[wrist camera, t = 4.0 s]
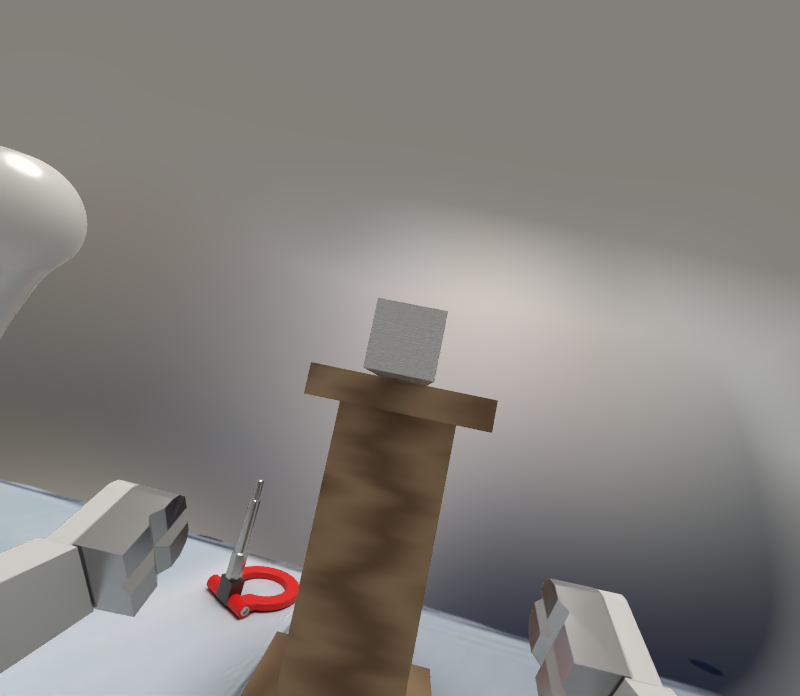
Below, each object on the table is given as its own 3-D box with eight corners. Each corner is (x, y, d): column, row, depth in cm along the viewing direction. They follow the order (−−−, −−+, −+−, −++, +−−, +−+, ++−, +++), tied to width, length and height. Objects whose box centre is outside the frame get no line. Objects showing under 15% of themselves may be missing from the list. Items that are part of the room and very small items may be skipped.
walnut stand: (179, 826, 21) (291, 357, 24) (271, 655, 35) (335, 371, 38) (434, 897, 20) (517, 404, 23) (425, 693, 34) (478, 400, 37)
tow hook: (269, 570, 50) (199, 586, 43) (296, 469, 52) (234, 468, 45) (311, 602, 45) (240, 626, 38) (340, 490, 47) (277, 492, 40)
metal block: (363, 366, 16) (378, 297, 17) (391, 382, 38) (397, 352, 38) (433, 381, 16) (447, 311, 16) (421, 389, 38) (427, 358, 38)
